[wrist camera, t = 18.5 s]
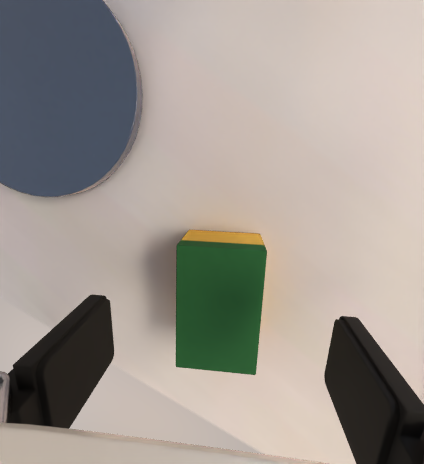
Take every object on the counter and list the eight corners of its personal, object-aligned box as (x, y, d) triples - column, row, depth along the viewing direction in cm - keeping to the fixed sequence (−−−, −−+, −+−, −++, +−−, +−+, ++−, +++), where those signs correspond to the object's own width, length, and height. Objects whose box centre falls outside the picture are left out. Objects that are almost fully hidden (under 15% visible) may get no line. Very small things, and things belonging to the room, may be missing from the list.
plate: (-59, -20, 16) (-89, -39, 15) (143, -24, 15) (133, -45, 14) (-24, 190, 19) (-45, 192, 18) (147, 199, 18) (140, 201, 16)
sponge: (189, 229, 18) (176, 245, 14) (260, 233, 18) (267, 250, 14) (187, 329, 20) (175, 367, 16) (251, 335, 20) (255, 375, 16)
